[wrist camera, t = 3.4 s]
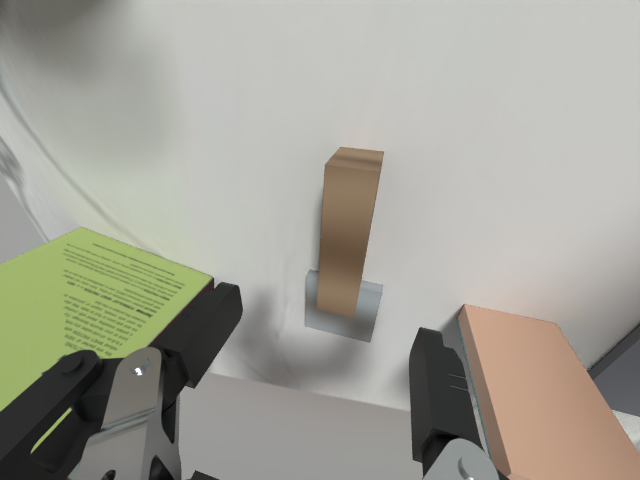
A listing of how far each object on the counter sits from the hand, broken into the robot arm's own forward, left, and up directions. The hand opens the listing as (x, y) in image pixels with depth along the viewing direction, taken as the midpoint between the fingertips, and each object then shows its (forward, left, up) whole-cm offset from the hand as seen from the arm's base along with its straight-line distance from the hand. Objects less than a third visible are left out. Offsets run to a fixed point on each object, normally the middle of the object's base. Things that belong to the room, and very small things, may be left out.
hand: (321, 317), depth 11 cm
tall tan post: (+3, 0, -8) cm, 9 cm away
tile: (+6, +12, -8) cm, 16 cm away
